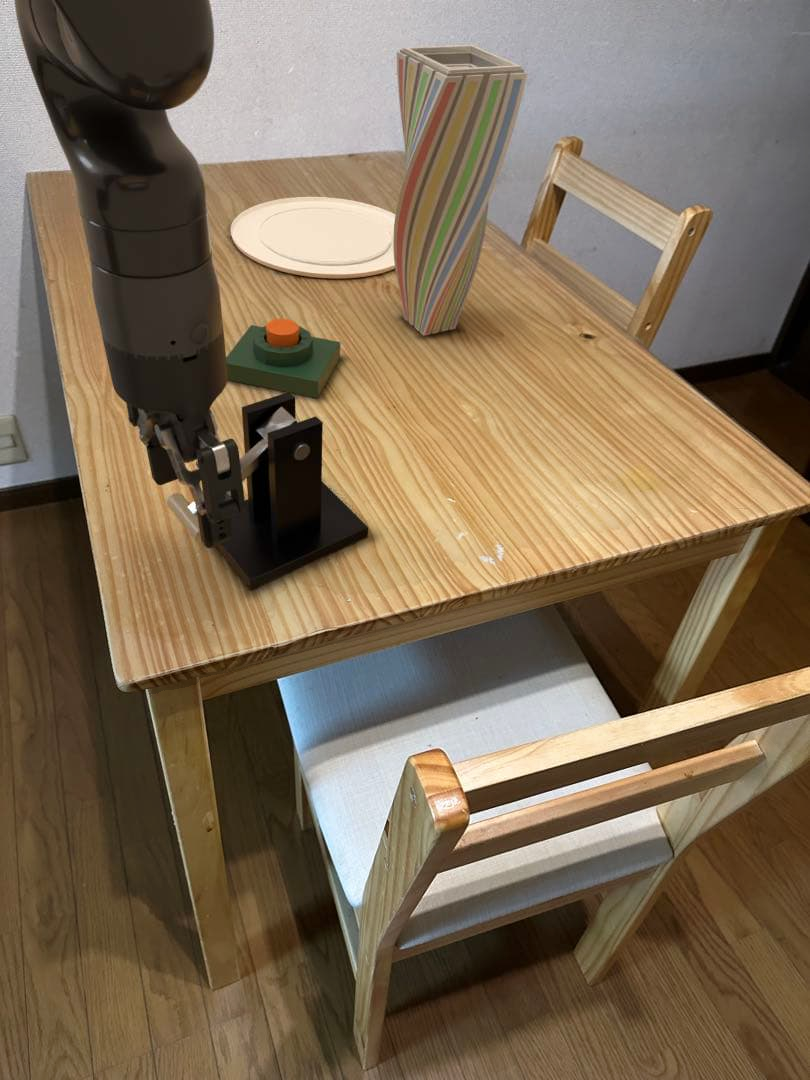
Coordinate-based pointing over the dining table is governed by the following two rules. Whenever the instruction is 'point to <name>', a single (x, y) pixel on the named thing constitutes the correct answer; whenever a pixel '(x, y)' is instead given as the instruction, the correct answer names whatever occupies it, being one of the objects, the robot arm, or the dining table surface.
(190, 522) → the lever
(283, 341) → the button
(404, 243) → the vase
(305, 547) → the bracket
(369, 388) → the dining table surface
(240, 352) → the button box
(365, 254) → the plate
